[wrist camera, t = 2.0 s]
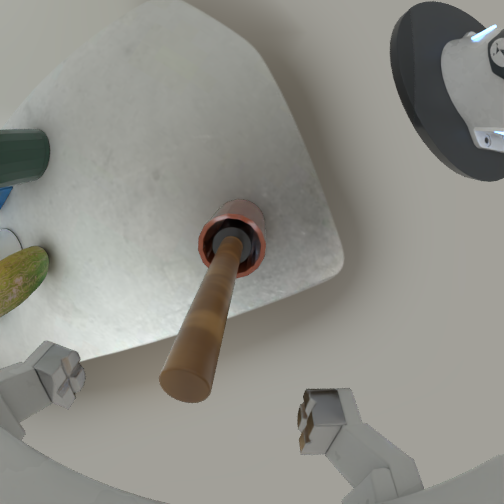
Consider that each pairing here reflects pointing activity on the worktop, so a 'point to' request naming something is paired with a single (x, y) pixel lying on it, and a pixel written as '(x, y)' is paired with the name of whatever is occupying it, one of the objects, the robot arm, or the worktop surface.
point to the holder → (247, 214)
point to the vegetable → (21, 276)
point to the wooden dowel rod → (207, 318)
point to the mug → (8, 243)
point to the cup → (22, 156)
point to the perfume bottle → (4, 194)
